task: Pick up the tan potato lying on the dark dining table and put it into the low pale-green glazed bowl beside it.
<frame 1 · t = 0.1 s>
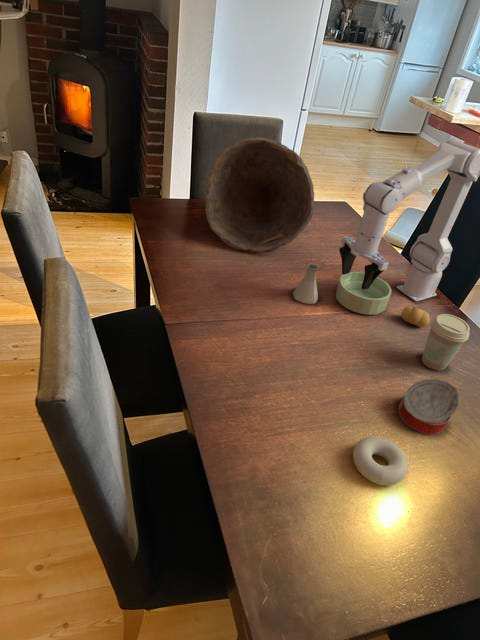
hand: (355, 280, 121), 10 cm above the table, tool pointing down, fingers open, 7 cm apart
potato: (412, 322, 127), on the table
bowl: (261, 237, 158), on the table
celadon bowl: (360, 301, 133), on the table
donut: (377, 466, 87), on the table
coffee cup: (433, 363, 114), on the table
flask: (305, 297, 131), on the table
canned food: (421, 416, 99), on the table
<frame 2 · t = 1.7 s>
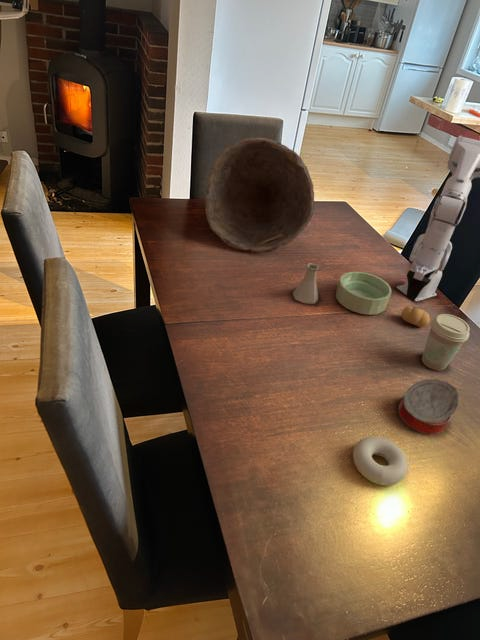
hand: (414, 292, 122), 9 cm above the table, tool pointing down, fingers open, 7 cm apart
nothing on the table moved.
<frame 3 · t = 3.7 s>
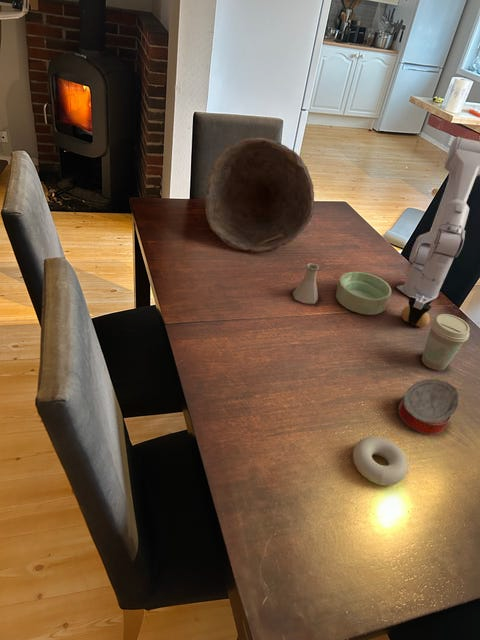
hand: (414, 318, 127), 1 cm above the table, tool pointing down, fingers closed on potato, 4 cm apart
potato: (412, 322, 127), on the table, touching gripper
everything else where it was.
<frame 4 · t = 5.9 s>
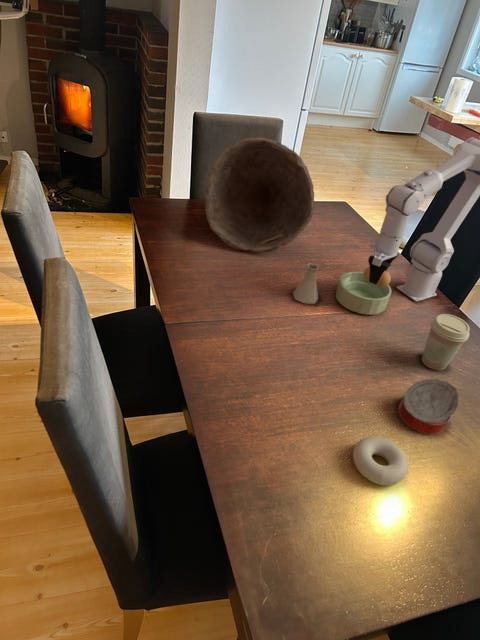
hand: (375, 278, 127), 8 cm above the table, tool pointing down, fingers closed on potato, 4 cm apart
potato: (374, 283, 128), point 7 cm above the table, touching gripper
everything else where it was.
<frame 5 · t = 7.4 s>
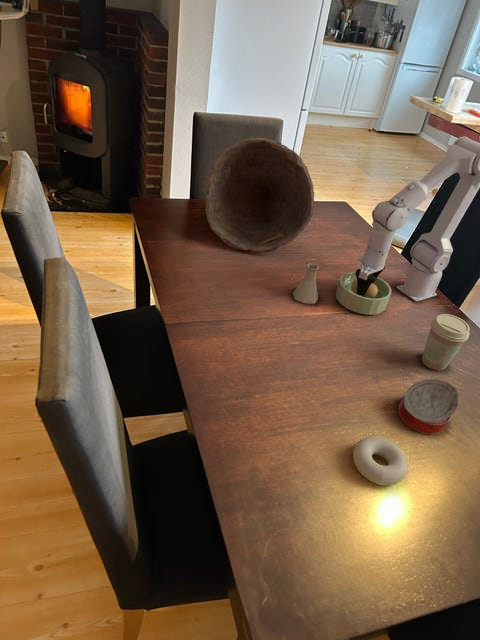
hand: (363, 291, 131), 4 cm above the table, tool pointing down, fingers closed on potato, 4 cm apart
potato: (362, 295, 132), point 2 cm above the table, touching gripper
everything else where it was.
when the fingers open (2 cm above the table, at t = 8.3 s): potato stays where it is, resting on celadon bowl.
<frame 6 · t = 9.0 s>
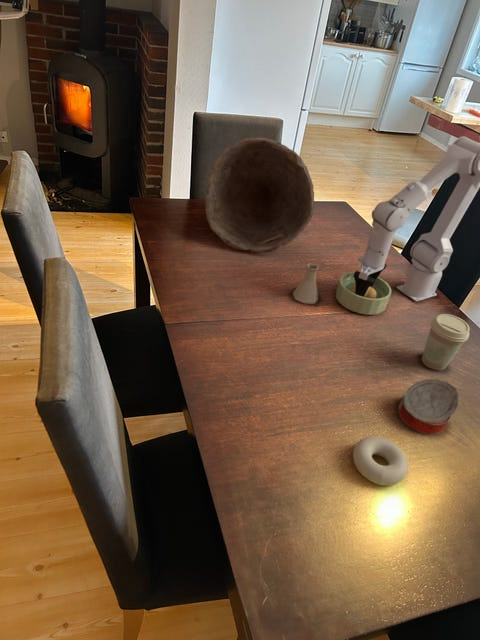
hand: (363, 291, 131), 3 cm above the table, tool pointing down, fingers open, 7 cm apart
potato: (360, 299, 132), point 1 cm above the table, tilted 12°, touching celadon bowl
everything else where it was.
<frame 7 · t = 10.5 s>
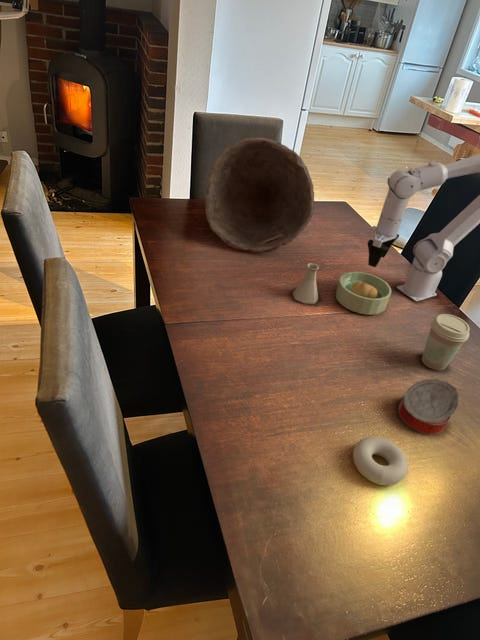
hand: (376, 260, 134), 9 cm above the table, tool pointing down, fingers open, 7 cm apart
potato: (361, 298, 132), point 1 cm above the table, tilted 33°, touching celadon bowl
everything else where it was.
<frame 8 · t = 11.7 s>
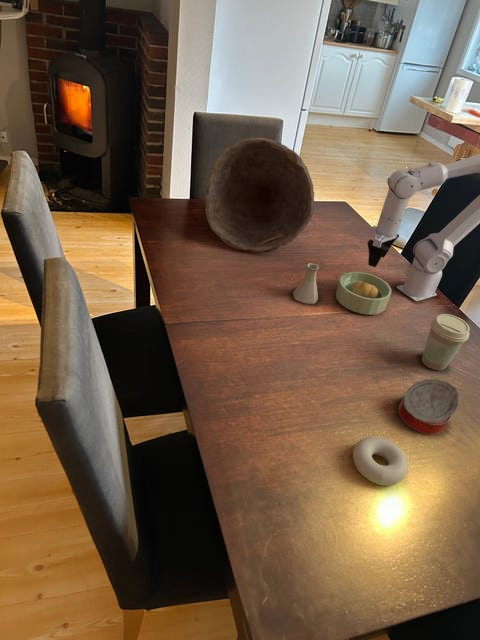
hand: (376, 260, 134), 9 cm above the table, tool pointing down, fingers open, 7 cm apart
potato: (361, 297, 132), point 1 cm above the table, tilted 47°, touching celadon bowl
everything else where it was.
at the end: potato inside the target area in the celadon bowl (0.1 cm from its centre), point 1.3 cm above the celadon bowl's base; the gripper is holding nothing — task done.
